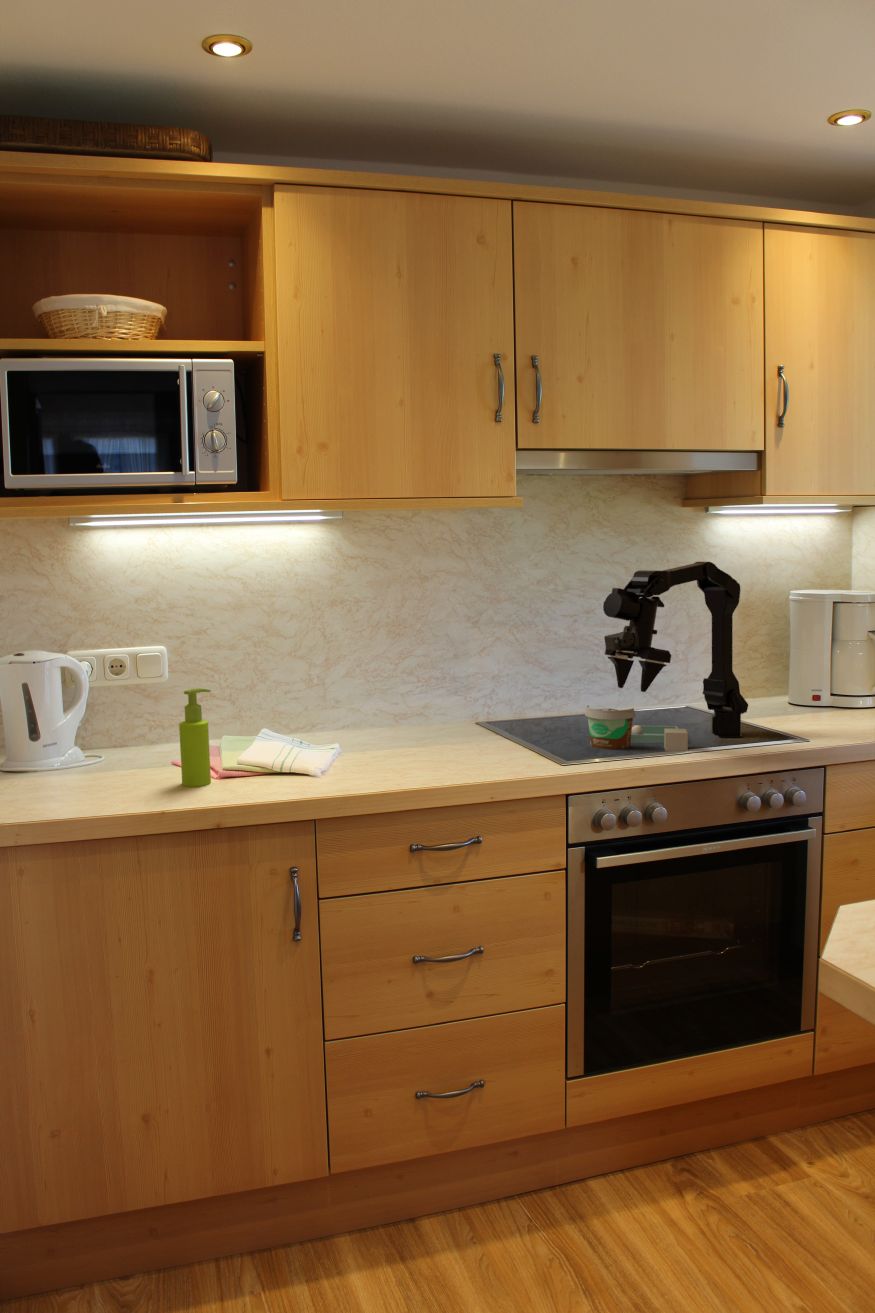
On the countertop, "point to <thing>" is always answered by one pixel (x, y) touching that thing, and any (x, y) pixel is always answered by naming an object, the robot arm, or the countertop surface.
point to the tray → (651, 734)
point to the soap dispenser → (194, 744)
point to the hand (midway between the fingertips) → (631, 689)
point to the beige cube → (675, 740)
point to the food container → (610, 727)
